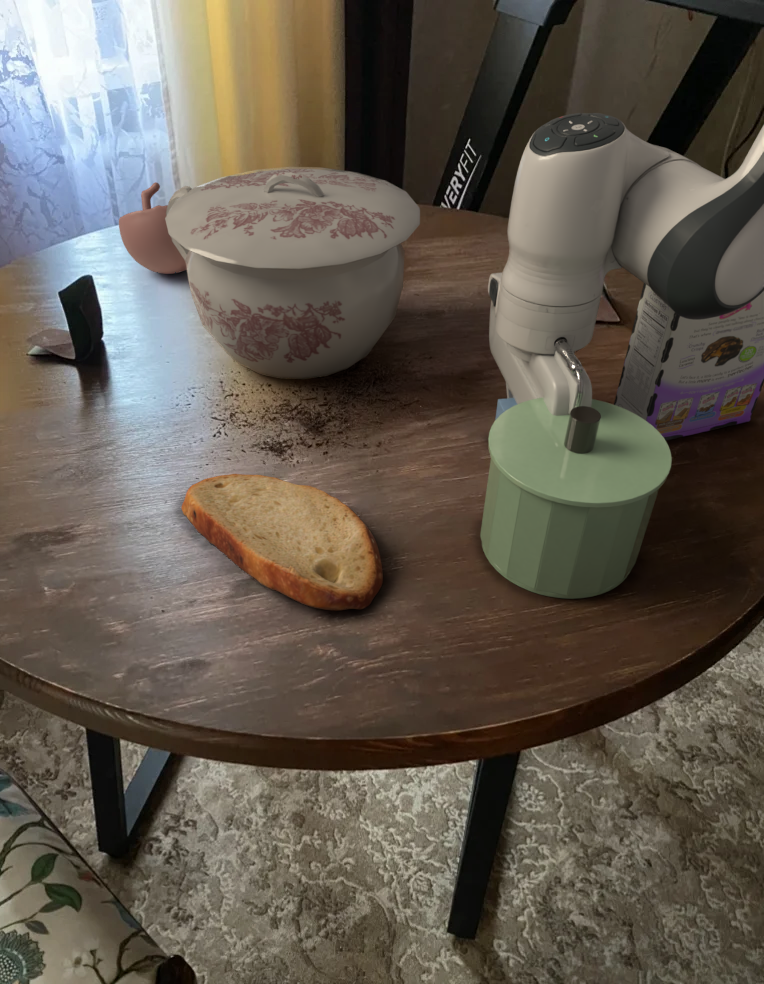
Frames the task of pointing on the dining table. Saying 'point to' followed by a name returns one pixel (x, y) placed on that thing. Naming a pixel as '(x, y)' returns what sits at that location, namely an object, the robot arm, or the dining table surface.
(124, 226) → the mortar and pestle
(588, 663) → the dining table surface
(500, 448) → the pot lid
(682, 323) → the candy box
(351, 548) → the bread slice
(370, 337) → the chamber pot
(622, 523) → the pot
